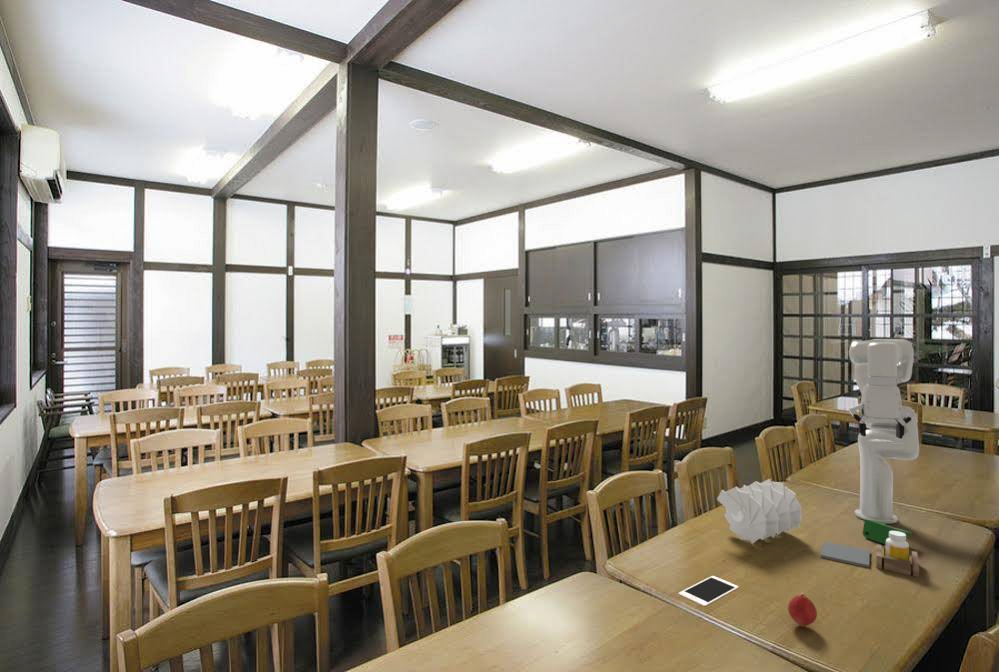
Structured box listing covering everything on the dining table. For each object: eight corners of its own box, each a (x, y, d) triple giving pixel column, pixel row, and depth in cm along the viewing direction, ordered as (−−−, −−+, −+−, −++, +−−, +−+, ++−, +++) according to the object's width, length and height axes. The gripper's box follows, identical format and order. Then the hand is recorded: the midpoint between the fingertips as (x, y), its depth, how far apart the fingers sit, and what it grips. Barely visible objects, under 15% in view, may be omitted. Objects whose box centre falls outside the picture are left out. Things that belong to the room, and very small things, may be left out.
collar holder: (876, 555, 161) (876, 544, 161) (916, 563, 156) (916, 552, 156) (876, 567, 153) (876, 555, 153) (918, 576, 148) (919, 564, 148)
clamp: (901, 559, 169) (918, 536, 166) (890, 558, 166) (907, 535, 163) (867, 531, 179) (883, 510, 176) (856, 530, 177) (872, 508, 174)
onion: (782, 620, 127) (782, 586, 127) (805, 618, 128) (805, 585, 128) (798, 634, 121) (798, 599, 121) (822, 632, 122) (822, 598, 122)
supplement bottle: (880, 562, 157) (881, 529, 157) (898, 561, 157) (898, 529, 157) (895, 570, 152) (895, 537, 151) (913, 570, 152) (913, 536, 152)
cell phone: (677, 595, 140) (677, 592, 140) (712, 577, 149) (712, 575, 149) (704, 608, 133) (704, 605, 133) (739, 588, 143) (739, 586, 143)
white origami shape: (794, 544, 179) (747, 557, 167) (751, 507, 193) (705, 517, 180) (820, 502, 173) (774, 512, 160) (774, 466, 186) (728, 474, 174)
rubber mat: (823, 543, 170) (823, 541, 170) (869, 552, 163) (869, 550, 163) (820, 557, 160) (820, 554, 160) (869, 567, 153) (869, 565, 153)
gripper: (909, 382, 168) (908, 436, 168) (846, 380, 174) (845, 432, 174) (919, 384, 161) (919, 441, 161) (853, 381, 166) (852, 436, 166)
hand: (880, 436), depth 167 cm, fingers open, 9 cm apart
